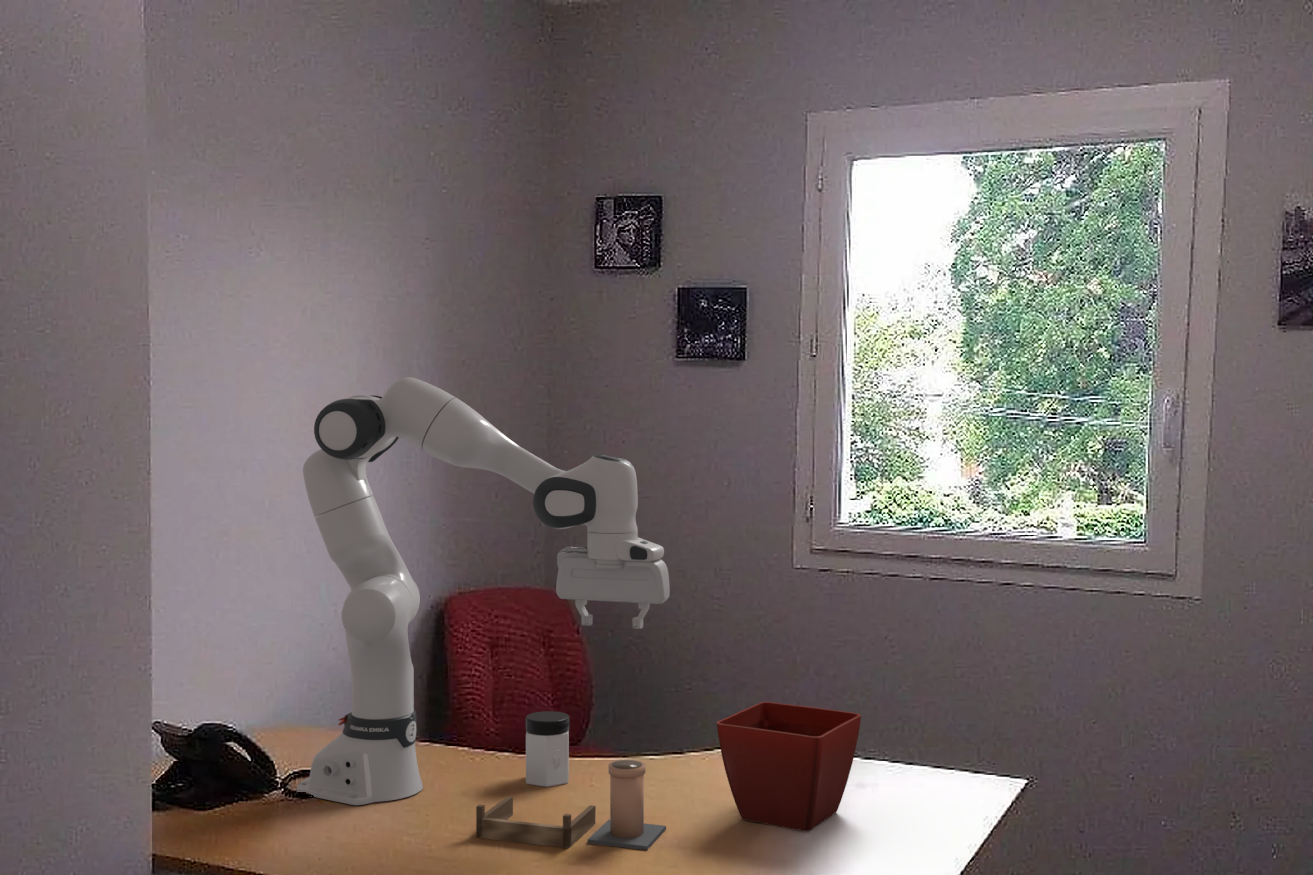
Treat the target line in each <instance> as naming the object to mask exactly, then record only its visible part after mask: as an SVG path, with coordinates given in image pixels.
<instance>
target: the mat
mask: <svg viewBox="0 0 1313 875" xmlns="http://www.w3.org/2000/svg"><path fill="white" fill-rule="evenodd" d="M666 830H667V826H666V825H662V824H655V823H654V824H652V823H644V833H643V834H642V835H641V836H639V837H635V838H618V837H615V836H613V835H611V834H610V819H608V820H606V821H605V822H604V824H602V825H601V826H600V827H599V828H598V829H597V830H596V831H595V832H594V833H593V834H591V836H589V837H588V838H587V839H586V840H587V844H590V845H591V844H593V845H599V846H600V845H601V846H607V847H608V846H610V847H616V848H625V849H626V848H627V849H633V850H634V849H635V850H645V851H648V850H649V849H650V848H651V847H652V846H653V845H654V843H655V842H656V841H657V840H658V839H659V838H660V837H661V835H662V834H664V832H665V831H666Z"/></svg>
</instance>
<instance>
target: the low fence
mask: <svg viewBox="0 0 1313 875" xmlns="http://www.w3.org/2000/svg"><path fill="white" fill-rule="evenodd" d="M485 806H486V805H485V804H478V805H476V807H475V808H476V810H475V811H476V812H475V813H476V814H475V816H476V819H475V820H476V821H475V823H476V824H475V825H476V826H475V827H476V829H475V830H476V832H475V833H476V834H475V835H476V837H475V838H480V839H488V840H495V841H496V840H497V841H504V842H505V841H506V842H512V843H513V842H514V843H522V844H530V845H537V846H539V845H540V846H548V847H556V848H564V849H569V848H571V847H572V846H573V845H574V844H575V843H576V842H577V841H578V840H580V839H581V838H582V837H583V836H584V835H585V834H586V833H587V832H588V831H589V830H591V828H593V827H594V826H595V825H596V805H592V804H591V805H588V806H587V807H586V808H585V809H584V810H583V811H581V812H580V813H579V814H578V815H577V816H576V817H574V818H573V819H572V814H568V813H564V815H562V825H555V824H546V823H538V822H528V821H527V822H526V821H519V820H510V819H509V818H510V817H512V816H513V815H514V797H513V796H506V797H505V798H504V799H502V800H501V801H499V802H498V803H496V804H495V805H494V806H492V807H490V809H488V810H485V809H486V807H485Z"/></svg>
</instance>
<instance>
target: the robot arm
mask: <svg viewBox="0 0 1313 875" xmlns="http://www.w3.org/2000/svg"><path fill="white" fill-rule="evenodd" d="M313 433H314V434H313V435H314V438H315V441H316V444H318V446H319V449H318V450H316V451H314V452H313V453H312V454H310V455H309V457H308V458H306V460H305V462H304V464H303V467H302V473H303V480H304V486H305V490H306V495H307V496H308V497H307V498H308V502H309V505H310V509H311V511H312V514H313V516H314V518H315V522H316V524H317V527H318V529H319V532H320V535H321V538H322V540H323V542H324V545H325V547H326V551H327V553H328V556H329V557H330V559H331V560H332V561H333V562H334V563H335V565H336V566H337V568H338V569H339V571H340V573H341V574H342V575H343V577H344V579H345V581H346V582H347V584H348V586H349V587H350V592H349V593H348V594H347V596H346V598H345V600H344V602H343V605H342V610H341V621H342V625H343V628H344V629H345V639H346V645H347V646H346V647H347V651H348V657H349V658H348V659H349V663H350V665H349V666H350V673H351V675H350V677H351V678H350V679H351V682H350V683H351V691H350V692H351V693H350V694H351V711H350V712H349V713H347V714H345V715H344V716H343V717H341V718H339V719H337V721H339V723H337V725H338V726H342V725H344V727H343V729H342V733H341V734H339V735H338V736H337V737H336V738H334V739H333V740H332V741H330V742H329V743H327V744H326V745H325V747H323V748H321V750H319V751H318V752H317V753H316V754H315V756H314V757H313V758H312V762H311V765H310V766H311V768H310V770H309V771H310V772H309V776H308V777H306V778H305V779H303V780H302V781H301V782H299V783H298V784H297V786H296V793H297V792H306V793H309V794H311V795H313V796H314V797H313V798H317V799H321V800H322V799H323V800H327V801H332V802H336V803H337V802H338V803H342V804H346V805H347V804H348V805H351V806H362V805H363V806H364V805H368V804H372V803H378V802H389V801H393V800H395V801H396V800H400V799H403V798H408V797H411V796H413V795H416V794H418V793H419V792H420V791H422V790H423V788H424V785H423V782H422V778H421V774H420V771H419V766H418V759H417V750H416V740H417V712H416V710H415V706H414V704H415V698H414V697H415V696H414V695H415V693H414V692H415V691H414V690H415V687H414V685H415V684H414V682H415V681H414V678H415V674H414V673H415V671H414V665H413V662H412V656H411V651H410V643H409V634H408V630H409V629H408V627H409V624H410V623H411V622H412V621H413V620H414V619H415V618H416V616H417V614H418V612H419V609H420V602H421V595H420V589H419V587H418V585H417V583H416V582H415V580H414V579H413V577H412V575H411V574H410V571H409V570H408V567H407V565H406V563H405V562H404V559H403V558H402V556H401V554H400V552H399V551H398V549H397V547H396V546H395V544H394V542H393V540H392V538H391V536H390V533H389V532H388V529H387V527H386V524H385V521H384V519H383V516H382V514H381V511H380V508H379V506H378V504H377V501H376V498H375V495H374V493H373V490H372V488H371V485H370V483H369V480H368V476H367V471H366V470H367V465H368V463H373V462H375V461H376V460H377V459H378V458H380V456H382V455H384V454H385V452H387V451H389V450H390V449H391V448H392V447H393V446H394V445H395V444H396V443H397V442H398V440H399V439H404V440H406V441H408V442H410V443H411V444H413V445H414V446H416V447H417V448H418V449H421V450H422V451H424V452H425V453H427V454H428V455H430V456H431V457H434V458H435V459H438V460H440V461H442V462H445V463H447V464H450V465H452V466H456V467H459V468H467V469H469V468H470V469H477V470H484V471H488V472H489V471H490V472H491V473H496V474H497V475H501V476H503V477H504V478H506V479H508V480H509V481H511V482H513V483H514V484H516V485H518V486H520V487H521V488H524V490H526V491H529V492H530V493H532V494H533V498H532V506H533V510H534V512H535V516H536V517H537V519H539V521H540V522H541V523H542V524H544V525H545V526H548V527H549V528H551V529H552V528H553V529H557V530H565V529H566V530H567V529H570V528H573V527H576V526H578V527H579V526H586V528H587V530H586V532H587V537H586V538H587V541H586V542H587V544H586V545H587V546H570V545H568V546H565V547H564V548H562V549H560V550H559V551H558V553H557V554H556V559H557V560H556V561H557V562H556V565H557V568H558V572H557V576H556V577H557V578H556V586H555V587H556V588H555V592H556V595H557V596H558V598H559V599H561V600H564V599H565V600H574V602H575V607H576V609H577V611H578V614H579V615H580V616H581V626H584V627H585V626H590V627H591V626H593V623H594V621H593V618H594V616H593V614H591V613H589V612H588V610H587V609H586V607H585V606H586V605H587V604H588V601H594V602H595V601H599V602H614V603H615V602H619V603H620V602H621V603H638V604H637V605H638V609H639V610H640V612H639V614H638V616H635V617H633V618H632V620H631V622H632V627H631V628H632V629H637V630H638V629H643V628H644V618H645V616H646V615H647V613H648V611H649V610H650V604H655V605H656V604H659V605H660V604H663V603H665V602H666V601H667V600H668V599H669V598H670V594H671V593H670V591H671V590H670V587H671V586H670V576H669V575H670V574H669V569H668V566H667V564H666V563H665V561H663V559H662V558H663V557H664V554H665V548H664V547H663V546H662V545H660V544H657V543H655V542H652V541H649V540H646V539H645V538H641V537H639V534H638V532H639V530H638V529H639V528H638V525H637V522H636V519H637V518H636V513H637V511H638V507H639V502H638V500H639V496H638V480H637V473H636V470H635V467H634V465H633V464H632V463H631V462H630V461H629V460H627V459H625V458H622V457H617V456H612V455H605V454H596V455H592V457H590V458H589V459H588V460H586V461H585V462H583V463H582V464H579V465H578V466H576V467H574V468H571V469H564V468H560V467H557V466H555V465H554V464H552V463H550V462H548V461H546V460H545V459H543V458H541V457H539V456H537V455H536V454H534V453H533V452H531V451H529V450H527V448H524V447H523V446H521V445H519V444H518V443H517V442H514V441H513V440H511V439H510V438H509V437H508V436H506V435H505V434H504V433H503V432H502V431H501V430H499V429H498V428H496V427H495V426H494V425H493V424H492V423H491V422H489V420H487V419H486V418H485V417H483V416H482V415H481V414H480V413H479V412H477V410H475V409H474V408H472V407H471V406H469V405H468V404H467V403H465V402H464V401H462V400H461V399H460V398H457V397H456V396H454V395H453V394H451V393H449V392H447V391H445V390H443V389H442V388H439V387H437V386H435V385H433V384H431V383H429V382H426V381H424V380H422V379H418V378H415V377H413V376H412V377H410V376H408V377H405V376H404V377H403V378H400V379H398V380H396V381H395V382H393V383H392V385H390V386H389V388H388V389H387V390H386V392H385V394H384V395H383V396H380V395H354V396H353V395H352V396H350V397H348V398H342V399H337V400H335V401H332V402H330V403H329V404H327V405H325V406H324V407H323V408H322V409H321V410H320V412H319V413H318V415H317V416H316V418H315V421H314V426H313Z"/></svg>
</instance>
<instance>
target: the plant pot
mask: <svg viewBox="0 0 1313 875" xmlns="http://www.w3.org/2000/svg"><path fill="white" fill-rule="evenodd" d="M861 719H862V714H860V713H856V712H849V711H842V710H838V709H837V710H835V709H829V708H822V707H814V706H806V705H795V704H789V703H788V704H787V703H780V702H779V703H778V702H771V701H762V702H758V703H757V704H753V705H752V706H750V707H748V708H745V709H743V710H741V711H738V712H736V713H734V714H732V715H730V716H727V717H725V718H723V719H720V720H717V721H716V728H717V735H718V737H717V738H718V742H719V747H720V753H721V758H722V761H723V762H722V763H723V766H724V770H725V775H726V777H727V781H728V785H729V787H730V791H731V795H732V796H733V800H734V803H735V806H736V808H737V810H738V813H739V814H738V815H739V816H740V818H741V819H742V820H744V821H750V822H754V823H755V822H757V823H759V824H760V823H761V824H766V825H771V826H776V827H780V828H786V829H791V830H796V831H803V832H808V831H812V830H813V829H815V828H816V827H817V826H819V825H820V824H822V823H823V822H825V821H826V820H828V819H829V818H830V817H832V816H833V815H834V814H836V813H837V812H838V809H839V807H840V804H841V802H842V800H843V799H842V798H843V795H844V793H845V790H846V787H847V785H848V781H849V776H850V772H851V770H852V765H853V761H854V757H855V753H856V749H857V745H858V744H857V743H858V740H859V733H860V728H861V721H862V720H861Z"/></svg>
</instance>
